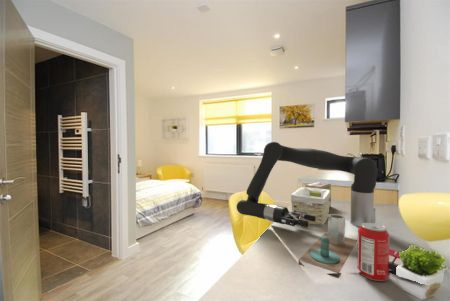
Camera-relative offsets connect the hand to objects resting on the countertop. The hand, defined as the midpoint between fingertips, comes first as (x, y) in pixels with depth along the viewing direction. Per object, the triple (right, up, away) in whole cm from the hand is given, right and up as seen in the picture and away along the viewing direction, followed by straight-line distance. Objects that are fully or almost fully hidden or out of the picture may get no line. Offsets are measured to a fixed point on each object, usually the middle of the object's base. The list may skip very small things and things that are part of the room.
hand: (311, 221), depth 93 cm
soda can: (+8, -8, -25) cm, 28 cm away
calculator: (+17, -9, -19) cm, 27 cm away
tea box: (+23, -7, +49) cm, 54 cm away
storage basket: (+9, -7, +26) cm, 28 cm away
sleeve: (+7, -6, -6) cm, 11 cm away
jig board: (+2, -8, -12) cm, 14 cm away
